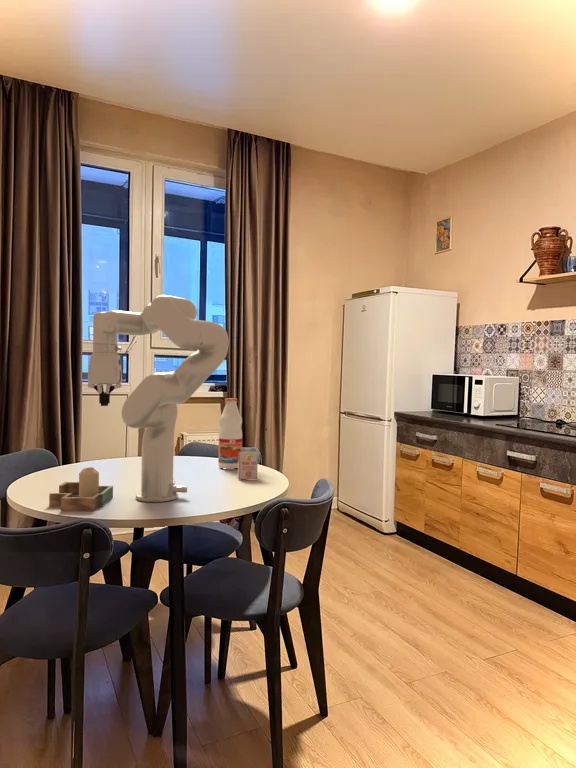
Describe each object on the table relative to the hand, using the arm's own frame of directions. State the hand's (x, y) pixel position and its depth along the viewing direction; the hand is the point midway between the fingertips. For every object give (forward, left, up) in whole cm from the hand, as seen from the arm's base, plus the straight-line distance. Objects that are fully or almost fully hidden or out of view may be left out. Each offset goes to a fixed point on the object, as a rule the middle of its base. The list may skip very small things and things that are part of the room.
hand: (104, 405), depth 179 cm
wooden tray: (+1, +19, -27) cm, 33 cm away
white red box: (-47, -15, -27) cm, 57 cm away
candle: (-1, +19, -27) cm, 33 cm away
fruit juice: (-40, -37, -27) cm, 61 cm away
